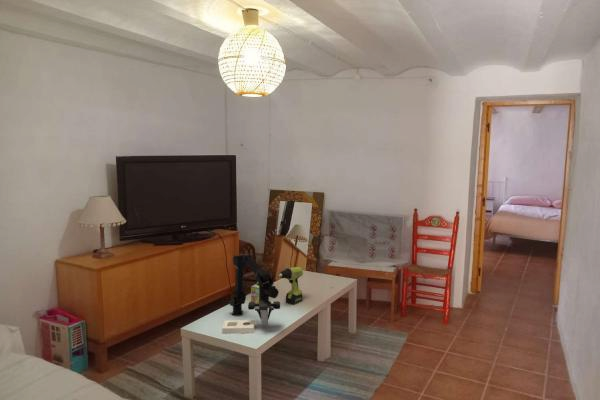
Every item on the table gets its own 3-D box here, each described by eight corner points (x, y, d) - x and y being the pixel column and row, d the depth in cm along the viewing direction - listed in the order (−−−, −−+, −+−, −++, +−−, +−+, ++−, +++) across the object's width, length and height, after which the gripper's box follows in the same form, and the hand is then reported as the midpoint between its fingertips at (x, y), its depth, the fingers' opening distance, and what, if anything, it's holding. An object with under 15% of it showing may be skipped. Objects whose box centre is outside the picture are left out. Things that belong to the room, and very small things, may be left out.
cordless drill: (283, 309, 288) (282, 272, 285) (275, 307, 292) (274, 271, 289) (304, 299, 306) (304, 264, 303) (296, 297, 310) (296, 263, 307)
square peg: (261, 322, 263) (261, 309, 262) (268, 322, 263) (268, 309, 262) (261, 324, 259) (260, 311, 258) (267, 324, 259) (267, 311, 258)
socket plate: (225, 325, 265) (225, 320, 264) (255, 324, 265) (255, 319, 265) (222, 333, 253) (222, 328, 252) (253, 332, 253) (253, 327, 253)
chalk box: (250, 302, 302) (250, 282, 300) (258, 298, 310) (257, 278, 308) (262, 304, 297) (261, 283, 296) (269, 300, 306) (268, 280, 304)
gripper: (246, 298, 250) (247, 325, 252) (279, 298, 251) (280, 324, 253) (248, 292, 261) (249, 317, 263) (280, 291, 262) (280, 316, 264)
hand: (264, 319), depth 260 cm, fingers closed on square peg, 4 cm apart
